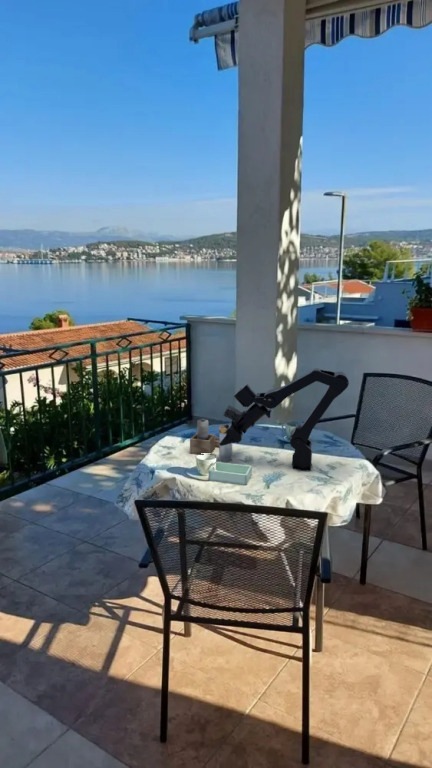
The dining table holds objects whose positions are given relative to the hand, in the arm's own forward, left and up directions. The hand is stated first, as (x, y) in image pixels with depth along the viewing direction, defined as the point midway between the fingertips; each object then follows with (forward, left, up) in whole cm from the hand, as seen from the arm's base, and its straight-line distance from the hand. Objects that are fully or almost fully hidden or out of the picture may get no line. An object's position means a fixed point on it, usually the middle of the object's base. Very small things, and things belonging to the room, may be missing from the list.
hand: (222, 441), depth 188 cm
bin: (+10, -6, -7) cm, 13 cm away
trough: (-7, +16, -7) cm, 19 cm away
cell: (-1, 0, -7) cm, 7 cm away
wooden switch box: (+7, -15, -7) cm, 18 cm away
